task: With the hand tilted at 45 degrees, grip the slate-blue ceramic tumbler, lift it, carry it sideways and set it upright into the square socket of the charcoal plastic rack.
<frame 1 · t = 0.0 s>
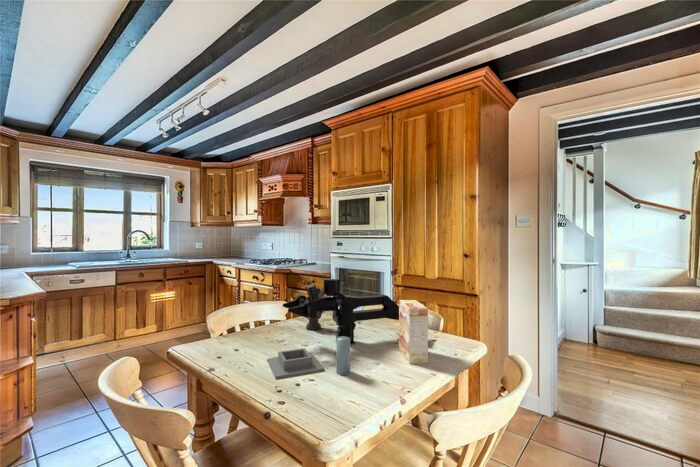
hand: (285, 307, 125), 17 cm above the table, tool horizontal, fingers open, 9 cm apart
tumbler: (343, 372, 105), on the table
coffeecake box: (412, 356, 120), on the table
mortar and pestle: (316, 329, 155), on the table
rack: (294, 365, 110), on the table
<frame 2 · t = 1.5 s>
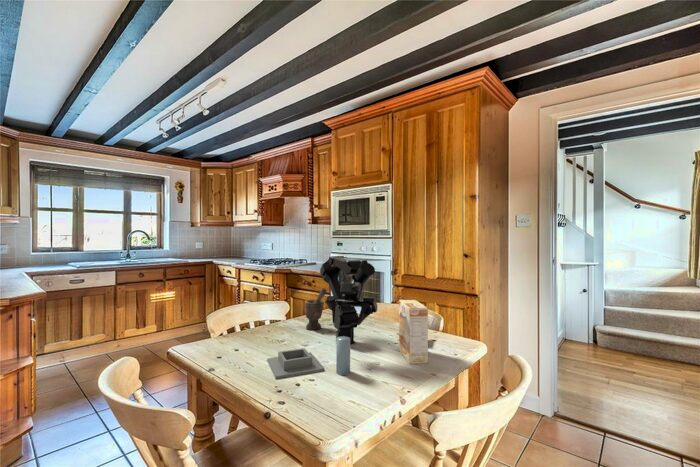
hand: (345, 323, 113), 14 cm above the table, tool tilted 45°, fingers open, 9 cm apart
nothing on the table moved.
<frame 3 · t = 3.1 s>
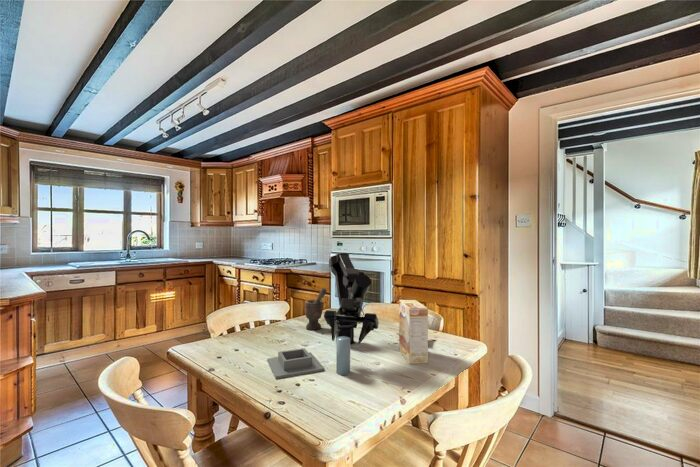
hand: (345, 341, 107), 9 cm above the table, tool tilted 45°, fingers open, 9 cm apart
nothing on the table moved.
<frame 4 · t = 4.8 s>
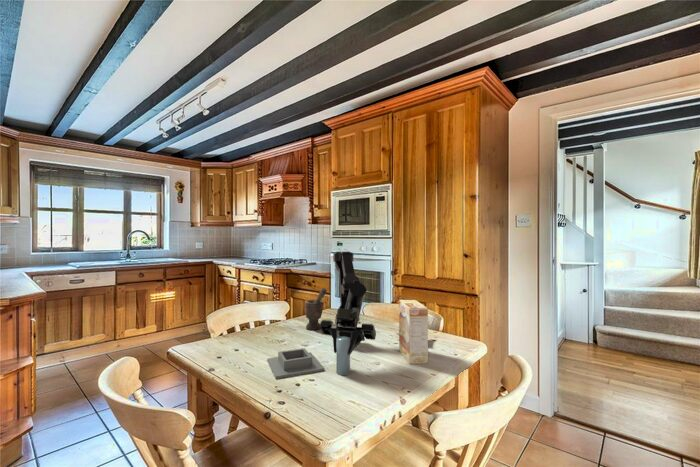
hand: (341, 353, 104), 7 cm above the table, tool tilted 45°, fingers closed on tumbler, 4 cm apart
tumbler: (343, 372, 105), on the table, touching gripper
everything else where it was.
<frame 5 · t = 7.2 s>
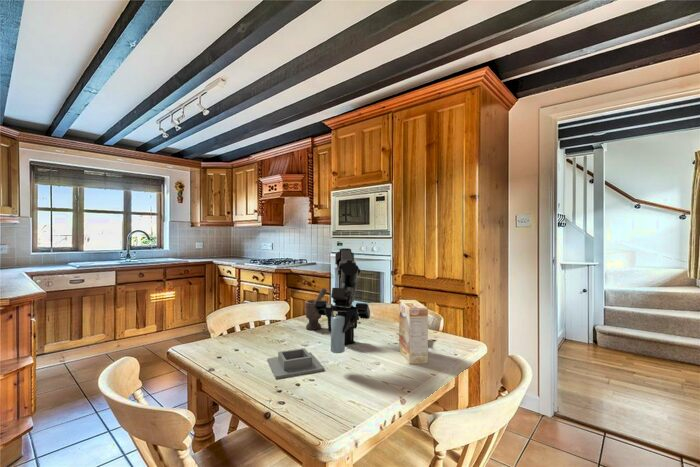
hand: (336, 331, 105), 13 cm above the table, tool tilted 45°, fingers closed on tumbler, 4 cm apart
tumbler: (337, 350, 106), point 7 cm above the table, touching gripper
everything else where it was.
when the fingers open (9 cm above the table, at t = 10.0 s): tumbler drops 1 cm, resting on rack.
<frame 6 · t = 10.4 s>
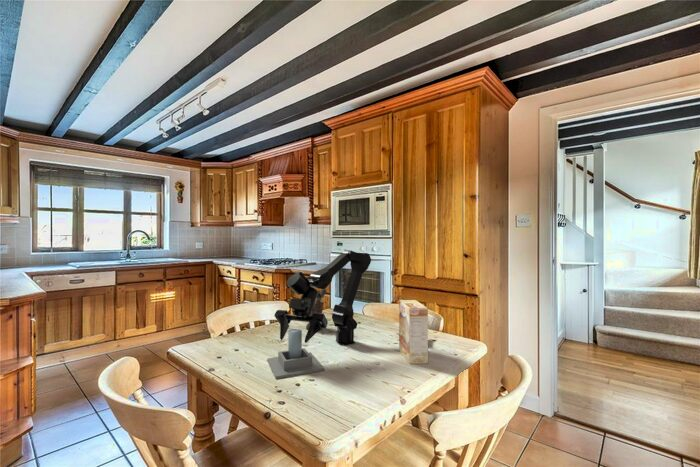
hand: (293, 340, 109), 9 cm above the table, tool tilted 45°, fingers open, 9 cm apart
tumbler: (294, 363, 110), point 1 cm above the table, touching rack
everything else where it was.
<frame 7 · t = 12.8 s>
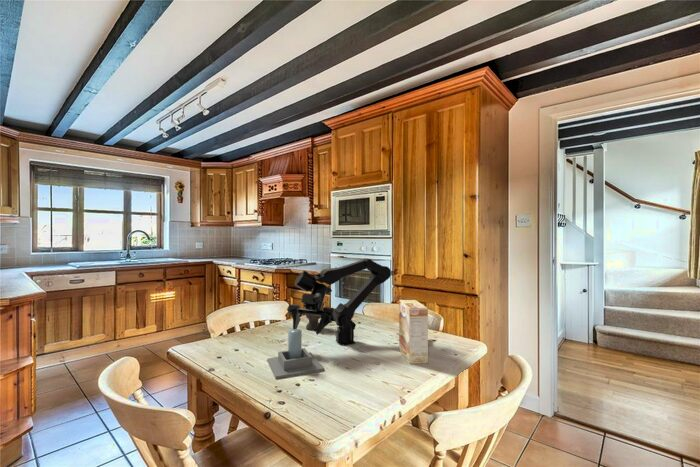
hand: (305, 332, 118), 9 cm above the table, tool tilted 45°, fingers open, 9 cm apart
nothing on the table moved.
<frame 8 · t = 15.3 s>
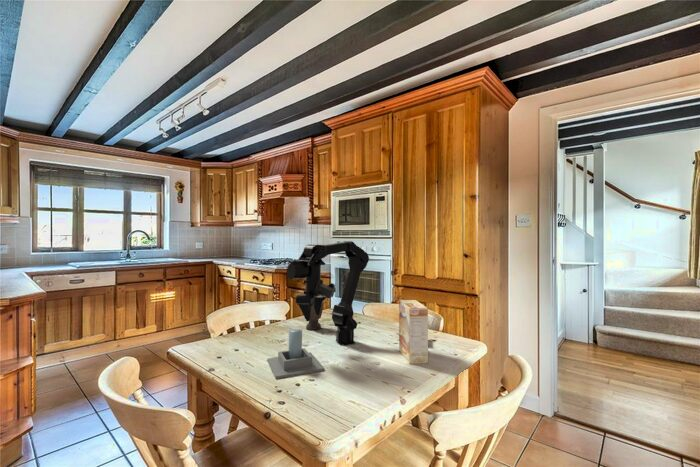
hand: (313, 318, 123), 13 cm above the table, tool pointing down, fingers open, 9 cm apart
nothing on the table moved.
at the end: tumbler 0.1 cm off-centre on the rack, point 0.8 cm above the rack's base; tumbler tilted 1°; the gripper is holding nothing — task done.
